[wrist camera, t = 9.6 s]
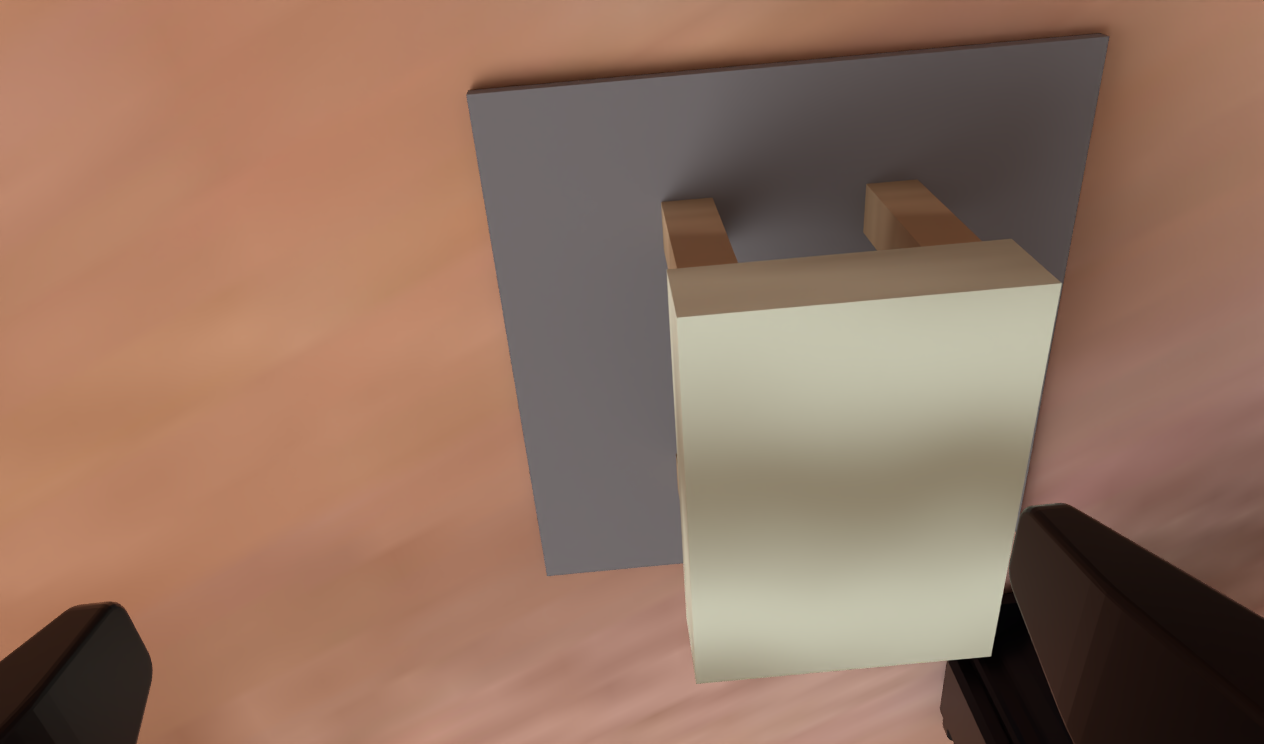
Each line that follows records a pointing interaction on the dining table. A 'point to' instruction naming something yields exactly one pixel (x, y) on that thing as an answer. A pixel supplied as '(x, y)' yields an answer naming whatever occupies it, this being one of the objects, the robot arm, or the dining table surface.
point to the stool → (851, 437)
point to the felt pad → (734, 230)
